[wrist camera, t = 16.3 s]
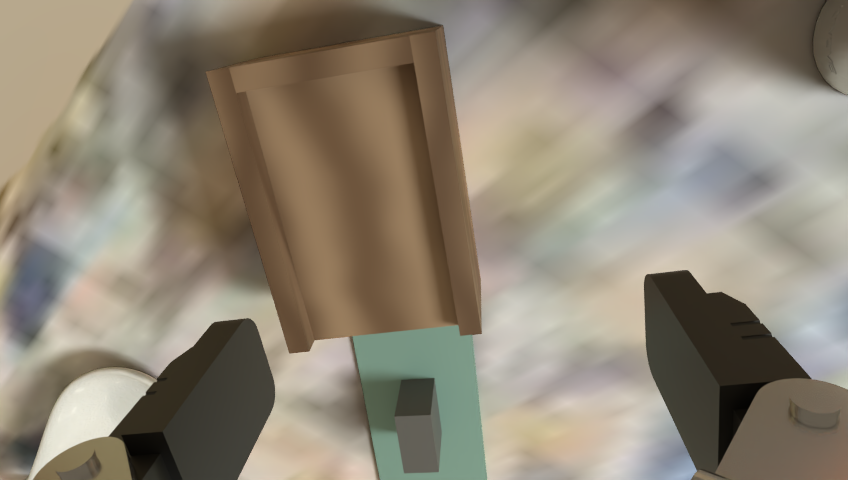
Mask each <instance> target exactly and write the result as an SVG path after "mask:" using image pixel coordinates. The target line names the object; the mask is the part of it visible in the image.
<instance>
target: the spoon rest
mask: <svg viewBox="0 0 848 480" xmlns="http://www.w3.org/2000/svg"><path fill="white" fill-rule="evenodd" d="M154 382H157V380H156V379H155V378H153V377H151V376H149V375H147V374H145V373H143V372H140V371H137V370H133V369H129V368H122V367H108V368H101V369H96V370H93V371H90V372H88V373H85V374H83V375H81V376H79V377H78V378H76V379H75V380H74V381H72V382H71V383H70V384H69V385H68V386H67V387H66V388H65V389H64V390H63V392H62V393H61V394H60V396H59V398H58V399H57V401H56V403H55V405H54V407H53V409H52V411H51V414H50V416H49V419H48V421H47V425H46V428H45V430H44V433H43V436H42V440H41V443H40V446H39V449H38V452H37V455H36V458H35V461H34V464H33V466H32V469H31V472H30V474H29V477H28V478H26V479H25V480H33V479H34V477H35V476H36V474H37V473H38V472H39V471H40V470H41V468H43V467H44V466H45V465H46V464H47V463H48V462H49V461H51V460H52V459H53V458H54V457H56V456H57V455H59V454H60V453H62V452H64V451H65V450H67V449H69V448H71V447H73V446H75V445H77V444H80V443H82V442H85V441H88V440H91V439H95V438H99V437H108V436H109V435H110V434H111V433H112V431H113V430H114V429H115V428H116V427H117V425H118V424H119V423H120V422H121V421H122V420H123V418H124V417H125V416H126V415H127V414H128V412H129V411H130V410H131V409H132V408H133V407H134V405H135V404H136V403H137V402H138V401H139V399H140V398H141V397H142V396H145V395H146V391H147V390H148V389H149V388H150V386H151V385H152V384H153V383H154Z"/></svg>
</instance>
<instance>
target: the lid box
mask: <svg viewBox="0 0 848 480" xmlns="http://www.w3.org/2000/svg"><path fill="white" fill-rule="evenodd" d="M206 75H207V78H208V82H209V85H210V88H211V92H212V95H213V98H214V102H215V105H216V108H217V112H218V115H219V119H220V122H221V125H222V129H223V132H224V135H225V139H226V142H227V145H228V149H229V152H230V156H231V159H232V162H233V166H234V169H235V172H236V176H237V179H238V182H239V186H240V189H241V192H242V196H243V199H244V203H245V206H246V209H247V213H248V216H249V219H250V223H251V226H252V229H253V233H254V236H255V239H256V243H257V246H258V250H259V253H260V256H261V260H262V263H263V266H264V270H265V273H266V276H267V280H268V283H269V286H270V290H271V293H272V297H273V300H274V303H275V307H276V310H277V313H278V317H279V320H280V323H281V327H282V330H283V334H284V337H285V340H286V344H287V347H288V350H289V353H298V352H308V351H310V349H311V346H312V344H313V342H314V340H321V339H331V338H340V337H350V336H359V335H369V334H378V333H388V332H397V331H407V330H417V329H426V328H436V327H445V326H455V325H458V326H459V332H460V336H465V335H475V334H482V329H481V278H480V272H479V265H478V258H477V251H476V245H475V238H474V231H473V224H472V218H471V211H470V204H469V197H468V191H467V184H466V177H465V170H464V164H463V157H462V150H461V143H460V136H459V130H458V123H457V116H456V109H455V103H454V96H453V89H452V82H451V76H450V69H449V62H448V55H447V49H446V42H445V35H444V28H443V25H442V26H437V27H431V28H425V29H420V30H414V31H408V32H403V33H397V34H392V35H386V36H380V37H375V38H369V39H364V40H358V41H352V42H347V43H341V44H335V45H330V46H324V47H319V48H313V49H307V50H302V51H296V52H291V53H285V54H279V55H274V56H268V57H263V58H257V59H253V60H249V61H245V62H241V63H237V64H234V65H230V66H226V67H222V68H218V69H214V70H211V71H207V72H206Z"/></svg>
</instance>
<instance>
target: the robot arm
mask: <svg viewBox="0 0 848 480" xmlns="http://www.w3.org/2000/svg"><path fill="white" fill-rule="evenodd" d="M813 52H814V58H815V61H816V65H817V68H818V70H819V71H820V73H821V75H822V76H823V78H824V79H825V80H826V81H827V82H828V83H829V84H830V85H831V86H832V87H833V88H834V89H836V90H838V91H840V92H842V93H843V94H846V95H848V0H827V1H826V3H825V5H824V6H823V8H822V10H821V12H820V15H819V18H818V20H817V23H816V26H815V32H814V37H813ZM644 300H645V330H646V350H647V357H648V362H649V366H650V370H651V373H652V376H653V378H654V380H655V382H656V385H657V387H658V389H659V391H660V393H661V395H662V397H663V399H664V402H665V404H666V406H667V408H668V410H669V412H670V414H671V416H672V419H673V421H674V423H675V425H676V427H677V429H678V431H679V433H680V436H681V438H682V440H683V442H684V444H685V446H686V448H687V450H688V453H689V455H690V457H691V459H692V461H693V463H694V465H695V467H696V470H697V472H696V473H695V474H694V476H693V477H692V479H691V480H848V390H847V389H845V388H842V387H840V386H837V385H834V384H831V383H827V382H823V381H818V380H812V379H811V378H810V376H809V375H808V374H807V373H806V372H805V371H804V370H803V369H802V367H801V366H800V365H799V364H798V363H797V362H796V361H795V360H794V358H793V357H792V356H791V355H790V354H789V353H788V352H787V351H786V349H785V348H784V347H783V346H782V345H781V344H780V343H779V342H778V340H777V339H776V338H775V337H772V335H771V333H770V331H769V330H768V329H767V328H766V327H765V326H764V325H763V324H760V320H759V319H758V318H757V317H756V316H755V315H754V313H753V312H752V311H751V310H750V309H749V308H748V307H747V306H746V304H744V303H742V302H740V301H738V300H736V299H734V298H732V297H730V296H728V295H726V294H724V293H722V292H717V293H708V294H707V293H706V292H705V291H704V290H703V288H702V287H701V286H700V284H699V283H698V282H697V281H696V279H695V278H694V277H693V276H692V274H691V273H690V272H689V271H688V270H682V271H674V272H665V273H656V274H647V275H646V276H645V280H644ZM274 400H275V385H274V380H273V376H272V373H271V370H270V367H269V364H268V360H267V357H266V354H265V351H264V348H263V345H262V341H261V338H260V335H259V332H258V329H257V326H256V324H255V323H254V321H252V320H251V319H249V318H247V319H238V320H229V321H220V322H214V323H213V324H212V325H211V326H210V327H209V328H208V329H207V330H206V332H205V333H204V334H203V335H202V337H201V338H200V339H199V340H198V342H197V343H196V344H195V345H194V346H193V347H192V348H190V349H189V350H187V351H186V352H185V353H183V354H182V355H180V356H179V357H178V358H176V359H175V360H173V361H172V362H171V363H170V364H169V365H168V366H167V367H166V369H165V370H164V371H163V372H162V373H161V375H160V376H159V377H158V378H157V382H154V383H153V384H152V385H151V386H150V388H149V389H148V390H147V391H146V395H145V396H142V397H141V398H140V399H139V401H138V402H137V403H136V404H135V405H134V407H133V408H132V409H131V410H130V411H129V412H128V414H127V415H126V416H125V417H124V418H123V420H122V421H121V422H120V423H119V424H118V425H117V427H116V428H115V429H114V430H113V431H112V433H111V434H110V435H109V436H108V437H99V438H95V439H91V440H88V441H85V442H82V443H80V444H77V445H75V446H73V447H71V448H69V449H67V450H65V451H64V452H62V453H60V454H59V455H57V456H56V457H54V458H53V459H52V460H51V461H49V462H48V463H47V464H46V465H45V466H44V467H43V468H41V470H40V471H39V472H38V473H37V474H36V476H35V477H34V479H33V480H237V479H238V477H239V475H240V473H241V471H242V469H243V467H244V465H245V463H246V461H247V459H248V457H249V455H250V453H251V451H252V449H253V447H254V445H255V443H256V441H257V439H258V437H259V435H260V433H261V431H262V429H263V427H264V425H265V423H266V421H267V419H268V417H269V415H270V413H271V411H272V408H273V405H274Z"/></svg>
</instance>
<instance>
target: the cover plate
mask: <svg viewBox="0 0 848 480" xmlns="http://www.w3.org/2000/svg"><path fill="white" fill-rule="evenodd" d="M352 337H353V342H354V348H355V353H356V358H357V363H358V368H359V374H360V379H361V384H362V389H363V394H364V400H365V405H366V410H367V415H368V420H369V426H370V431H371V436H372V441H373V446H374V451H375V457H376V462H377V467H378V472H379V477H380V480H487V473H486V463H485V454H484V444H483V435H482V425H481V415H480V406H479V396H478V387H477V377H476V367H475V358H474V348H473V339H472V335H465V336H460V332H459V326H458V325H455V326H445V327H436V328H426V329H417V330H407V331H397V332H388V333H378V334H369V335H359V336H352Z"/></svg>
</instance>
